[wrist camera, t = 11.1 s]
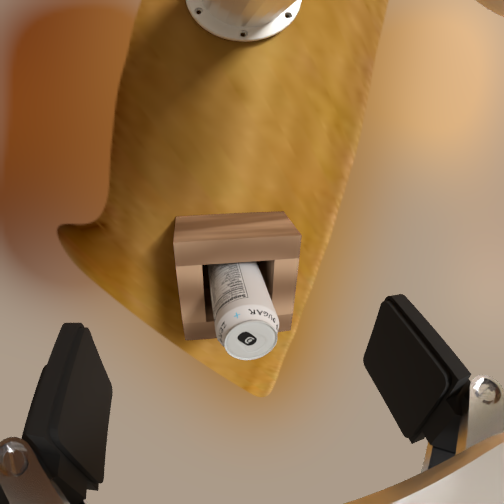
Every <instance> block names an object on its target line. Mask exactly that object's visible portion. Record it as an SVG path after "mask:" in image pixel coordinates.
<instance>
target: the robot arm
mask: <svg viewBox="0 0 504 504" xmlns="http://www.w3.org/2000/svg"><path fill="white" fill-rule="evenodd" d="M301 1H302V0H186V4H187V7H188V10H189V12H190V14H191V15H192V17H193V18H194V20H195V21H196V22H197V23H198V24H199V25H200V26H201V27H202V28H204V29H205V30H207V31H208V32H210V33H211V34H213V35H216V36H218V37H221V38H223V39H227V40H232V41H240V42H250V41H258V40H262V39H266V38H269V37H271V36H273V35H276V34H277V33H279V32H281V31H282V30H284V29H285V28H286V27H287V26H288V25H290V24H291V22H292V21H293V20H294V19H295V17H296V15H297V14H298V12H299V10H300V5H301ZM476 1H477V2H479V3H480V4H481V5H483V6H484V7H486V8H487V9H489V10H491V11H492V12H494V13H496V14H498V15H500V16H503V17H504V0H476ZM197 11H200V12H201V13H200V14H197V13H196V12H197ZM285 15H287V16H288V18H286V17H285ZM241 33H243V34H245V36H244V37H242V36H241V35H240V34H241ZM363 361H364V365H365V368H366V369H367V371H368V373H369V375H370V376H371V378H372V380H373V381H374V383H375V385H376V387H377V388H378V390H379V392H380V394H381V395H382V397H383V399H384V401H385V403H386V404H387V406H388V408H389V410H390V412H391V413H392V415H393V417H394V419H395V421H396V422H397V424H398V426H399V428H400V429H401V432H402V433H403V435H404V436H405V437H406V438H409V440H410V441H411V443H412V444H413V443H415V442H417V441H419V440H422V439H424V437H426V439H427V440H428V445H427V450H426V454H425V458H424V463H423V467H422V471H421V473H420V474H418V475H416V476H414V477H412V478H410V479H408V480H405V481H403V482H401V483H398V484H396V485H394V486H391V487H389V488H386V489H384V490H381V491H379V492H376V493H373V494H371V495H368V496H365V497H362V498H360V499H357V500H354V501H351V502H348V503H344V504H504V391H503V388H502V386H501V385H500V384H499V383H498V381H497V380H495V379H494V378H492V377H490V376H487V375H479V376H476V377H475V378H473V380H472V381H471V382H470V380H469V377H470V375H471V373H470V372H469V371H468V369H467V368H466V367H465V366H464V364H463V363H462V362H461V361H460V359H459V358H458V357H457V356H456V354H455V353H454V352H453V351H452V350H451V348H450V347H449V346H448V345H447V344H446V342H445V341H444V340H443V339H442V338H441V336H440V335H439V334H438V333H437V332H436V331H435V329H434V328H433V327H432V326H431V325H430V324H429V322H428V321H427V320H426V319H425V318H424V317H423V316H422V314H421V313H420V312H419V311H418V310H417V309H416V308H415V307H414V305H413V304H412V303H411V302H410V301H409V300H408V299H407V298H406V296H404V295H403V294H399V295H393V296H388V297H386V299H385V301H384V302H382V303H381V306H380V309H379V312H378V316H377V319H376V322H375V325H374V328H373V331H372V334H371V337H370V340H369V343H368V346H367V349H366V352H365V354H364V358H363ZM111 399H112V386H111V382H110V380H109V378H108V376H107V373H106V371H105V369H104V366H103V364H102V361H101V359H100V356H99V354H98V351H97V349H96V346H95V344H94V341H93V339H92V336H91V333H90V331H89V329H88V328H84V326H83V324H82V323H64V324H63V325H62V328H61V330H60V333H59V335H58V338H57V340H56V342H55V345H54V348H53V350H52V353H51V356H50V358H49V361H48V364H47V365H46V366H45V367H44V368H43V370H42V373H41V376H40V379H39V382H38V385H37V387H36V390H35V394H34V397H33V400H32V403H31V407H30V410H29V413H28V417H27V420H26V424H25V428H24V431H23V435H22V439H21V438H18V437H9V438H6V439H4V440H2V441H1V442H0V504H88V502H87V501H86V490H87V489H89V490H97V491H98V484H99V483H102V482H103V479H104V465H105V452H106V442H107V431H108V423H109V415H110V407H111Z"/></svg>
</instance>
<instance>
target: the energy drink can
mask: <svg viewBox="0 0 504 504" xmlns="http://www.w3.org/2000/svg"><path fill="white" fill-rule="evenodd" d="M208 274H209V283H210V291H211V300H212V308H213V316H214V323H215V331H216V337H217V339H218V341H219V342H220V343H221V344H222V345H223V346H224V347H225V349H226V351H227V352H228V354H230V355H231V356H232V357H234V358H237V359H241V360H252V359H257V358H260V357H262V356H264V355H266V354H268V353H269V352H270V351H271V350H272V349H273V348H274V346H275V345H276V342H277V333H278V330H279V319H278V316H277V314H276V311H275V308H274V306H273V303H272V301H271V298H270V295H269V293H268V290H267V288H266V285H265V282H264V280H263V277H262V275H261V272H260V269H259V267H258V264H257V262H256V261H252V262H237V263H223V264H208Z"/></svg>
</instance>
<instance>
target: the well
mask: <svg viewBox="0 0 504 504" xmlns="http://www.w3.org/2000/svg"><path fill="white" fill-rule="evenodd" d="M173 245H174V255H175V264H176V273H177V282H178V290H179V298H180V306H181V313H182V320H183V327H184V334H185V340H198V339H211V338H217V337H216V331H215V323H214V316H213V308H212V300H211V291H210V288H203V273H202V265H207V264H223V263H237V262H252V261H260V272H261V275H262V277H263V280H264V282H265V285H266V288H267V290H268V293H269V295H270V298H271V301H272V303H273V306H274V308H275V311H276V314H277V316H278V319H279V330H278V332H281V331H289V330H291V323H292V315H293V307H294V299H295V291H296V282H297V273H298V264H299V255H300V245H301V234H300V233H299V231H298V230H297V229H296V227H295V226H294V225H293V223H292V222H291V221H290V219H289V218H288V217H287V215H286V214H285V213H284V211H283V212H256V213H234V214H214V215H196V216H179V217H176V222H175V231H174V241H173Z"/></svg>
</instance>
